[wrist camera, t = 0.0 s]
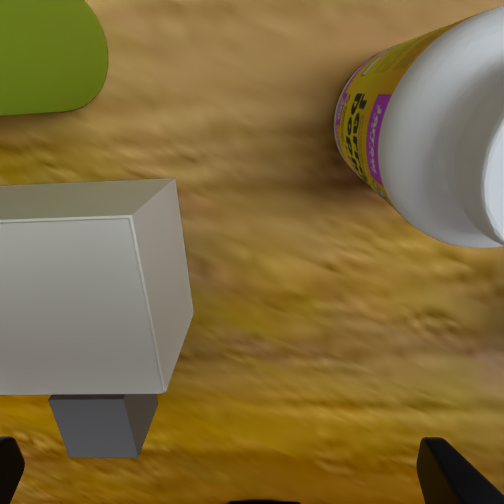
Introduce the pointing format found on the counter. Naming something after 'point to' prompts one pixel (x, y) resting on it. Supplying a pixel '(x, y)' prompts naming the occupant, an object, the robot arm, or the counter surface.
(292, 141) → the counter surface
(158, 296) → the light grey rectangular block
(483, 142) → the supplement bottle
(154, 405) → the plug
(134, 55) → the counter surface
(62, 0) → the soap dispenser
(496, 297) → the counter surface
